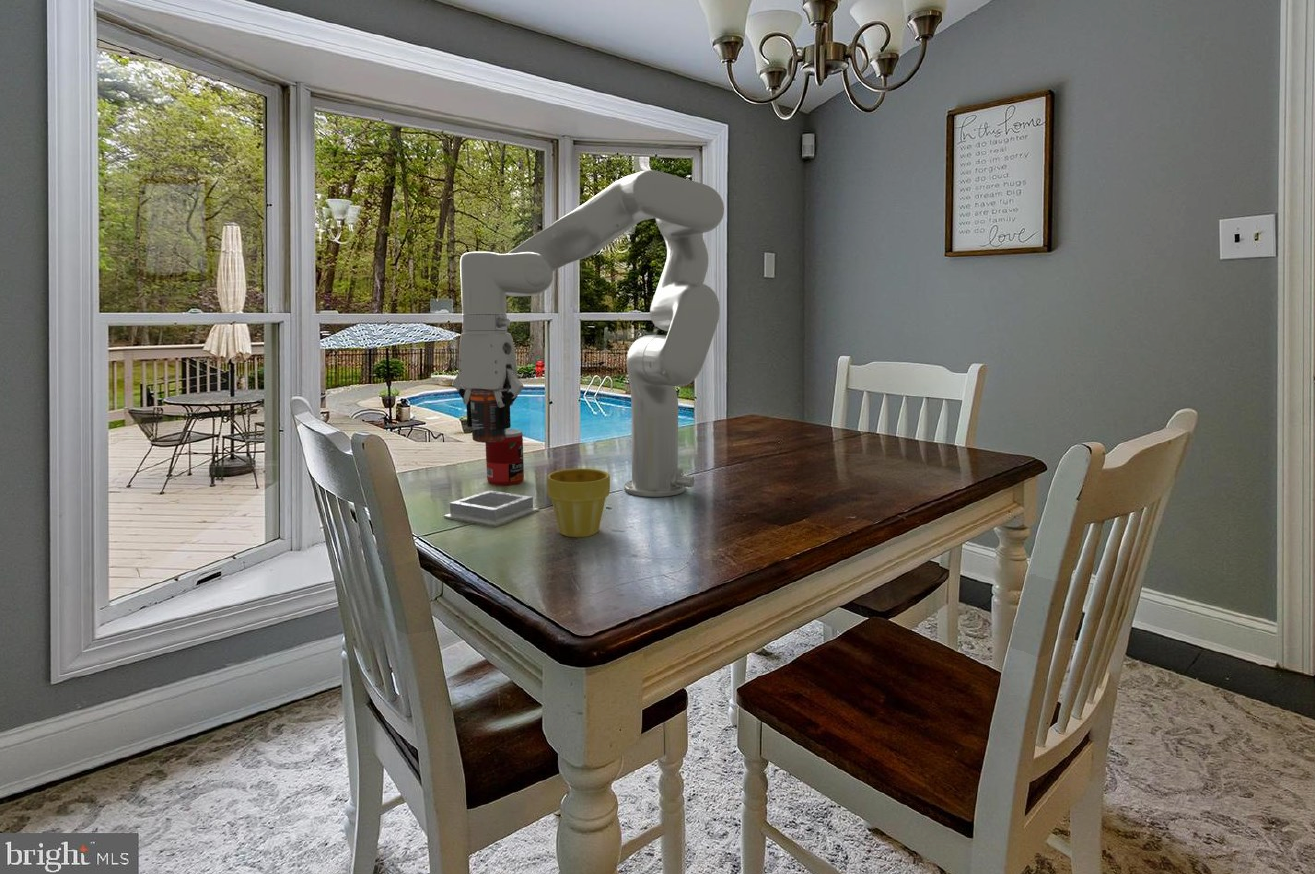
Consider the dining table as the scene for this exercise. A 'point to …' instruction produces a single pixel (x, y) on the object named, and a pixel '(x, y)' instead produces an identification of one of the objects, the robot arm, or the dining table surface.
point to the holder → (491, 508)
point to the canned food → (505, 459)
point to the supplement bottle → (485, 417)
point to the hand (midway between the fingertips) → (488, 426)
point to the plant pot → (578, 499)
